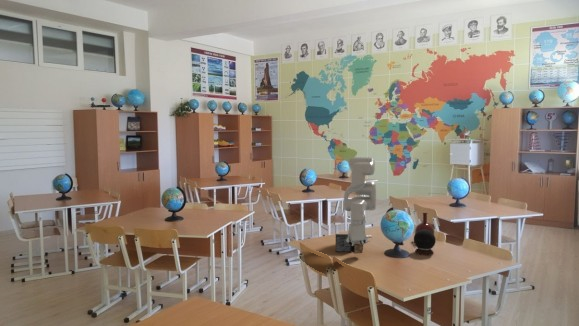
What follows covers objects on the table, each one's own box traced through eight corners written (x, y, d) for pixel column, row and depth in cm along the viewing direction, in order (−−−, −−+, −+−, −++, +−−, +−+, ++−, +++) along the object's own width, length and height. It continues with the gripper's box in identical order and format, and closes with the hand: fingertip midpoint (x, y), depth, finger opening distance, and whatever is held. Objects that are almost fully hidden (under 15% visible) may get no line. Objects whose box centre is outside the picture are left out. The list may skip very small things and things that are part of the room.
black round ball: (409, 251, 267) (409, 228, 266) (426, 249, 271) (427, 226, 270) (421, 256, 255) (422, 232, 254) (439, 254, 259) (440, 230, 258)
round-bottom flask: (437, 244, 283) (437, 215, 282) (417, 244, 284) (418, 215, 282) (430, 239, 296) (431, 211, 295) (412, 239, 297) (412, 211, 295)
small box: (351, 249, 271) (351, 233, 270) (352, 252, 265) (352, 236, 264) (335, 249, 272) (335, 233, 272) (335, 252, 266) (335, 236, 265)
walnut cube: (358, 250, 257) (358, 242, 257) (362, 252, 252) (362, 244, 252) (351, 251, 256) (351, 243, 255) (355, 253, 251) (355, 245, 250)
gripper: (366, 219, 258) (366, 248, 260) (341, 221, 253) (341, 251, 255) (372, 222, 251) (372, 251, 253) (346, 224, 246) (346, 254, 248)
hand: (356, 250), depth 254 cm, fingers closed on walnut cube, 5 cm apart
